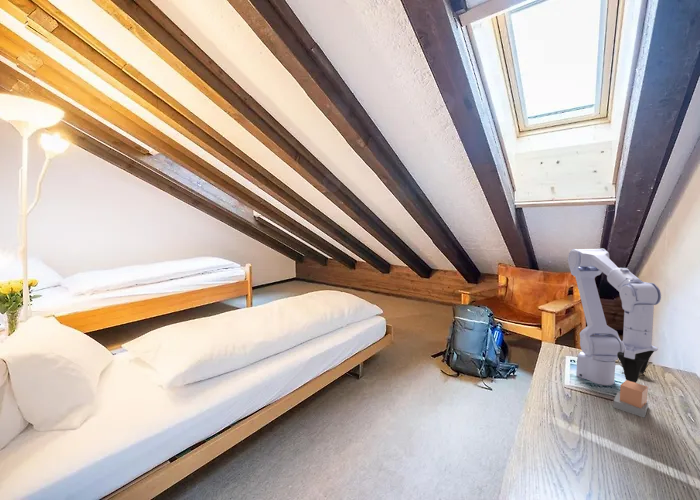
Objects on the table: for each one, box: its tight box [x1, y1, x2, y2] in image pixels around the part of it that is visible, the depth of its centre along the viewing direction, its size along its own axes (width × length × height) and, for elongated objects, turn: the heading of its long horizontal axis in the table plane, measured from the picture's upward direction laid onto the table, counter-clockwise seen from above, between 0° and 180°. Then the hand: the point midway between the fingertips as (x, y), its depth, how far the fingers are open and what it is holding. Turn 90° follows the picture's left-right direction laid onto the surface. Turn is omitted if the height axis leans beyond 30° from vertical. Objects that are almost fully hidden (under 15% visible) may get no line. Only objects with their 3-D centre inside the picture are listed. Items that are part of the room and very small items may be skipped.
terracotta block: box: [619, 379, 649, 408], centre depth 86 cm, size 4×4×4 cm
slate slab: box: [612, 391, 649, 419], centre depth 87 cm, size 6×6×2 cm
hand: (635, 376), depth 86 cm, fingers open, 7 cm apart
